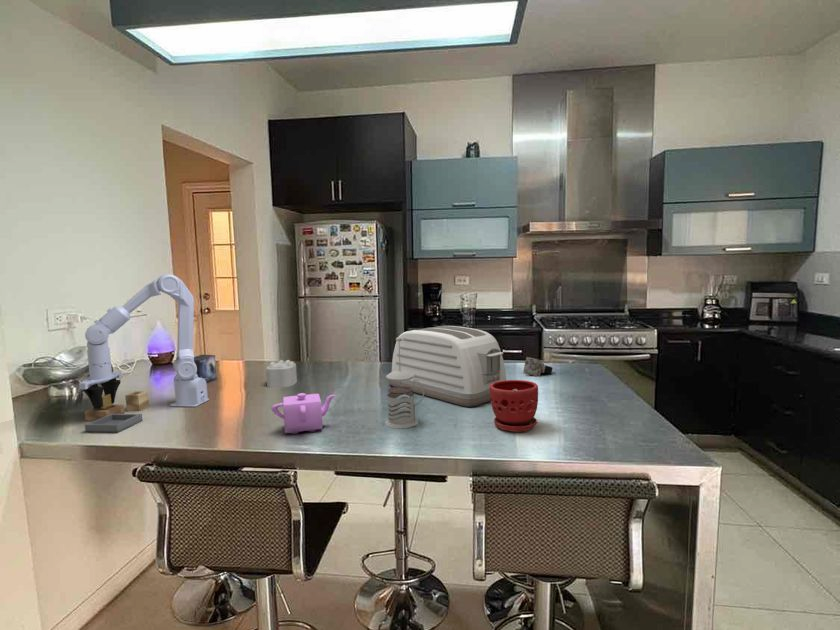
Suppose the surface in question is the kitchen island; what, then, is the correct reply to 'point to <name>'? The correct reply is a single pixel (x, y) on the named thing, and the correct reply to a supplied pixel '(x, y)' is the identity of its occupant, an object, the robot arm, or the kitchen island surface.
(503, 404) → the plant pot
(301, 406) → the teapot
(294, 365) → the lumpy-topped squat cylinder
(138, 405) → the block
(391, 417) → the french press
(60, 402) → the kitchen island surface
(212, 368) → the small box
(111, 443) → the kitchen island surface
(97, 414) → the brown rectangular frame
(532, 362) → the mottled grey-brown block
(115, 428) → the tray
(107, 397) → the gold rectangular block
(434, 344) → the toaster
